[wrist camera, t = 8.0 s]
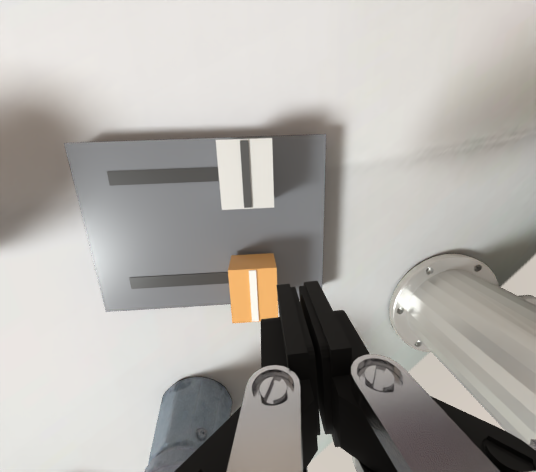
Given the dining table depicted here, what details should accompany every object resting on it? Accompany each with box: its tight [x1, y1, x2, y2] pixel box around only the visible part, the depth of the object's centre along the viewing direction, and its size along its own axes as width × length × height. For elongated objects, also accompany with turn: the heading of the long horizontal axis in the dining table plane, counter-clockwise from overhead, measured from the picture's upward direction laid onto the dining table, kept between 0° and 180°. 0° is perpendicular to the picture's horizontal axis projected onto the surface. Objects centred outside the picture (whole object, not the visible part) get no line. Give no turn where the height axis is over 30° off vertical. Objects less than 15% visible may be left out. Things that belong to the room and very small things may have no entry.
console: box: [64, 134, 326, 312], centre depth 25 cm, size 22×16×3 cm
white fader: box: [216, 138, 274, 210], centre depth 20 cm, size 4×5×4 cm
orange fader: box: [228, 253, 278, 323], centre depth 23 cm, size 4×5×4 cm
